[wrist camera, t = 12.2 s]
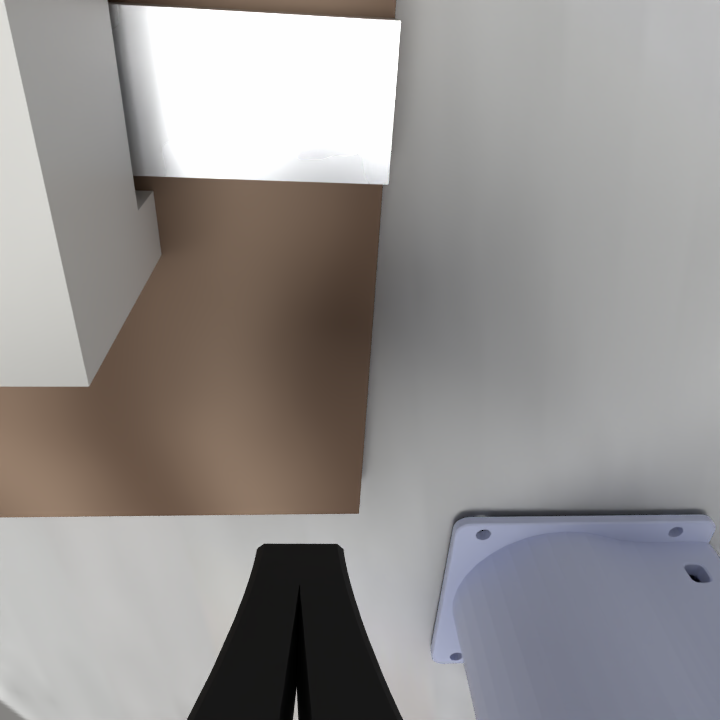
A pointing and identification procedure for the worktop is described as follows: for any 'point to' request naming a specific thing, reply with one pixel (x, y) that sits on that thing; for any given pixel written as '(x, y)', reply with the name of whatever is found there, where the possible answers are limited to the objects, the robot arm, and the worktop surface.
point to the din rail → (256, 93)
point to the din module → (65, 195)
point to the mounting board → (220, 356)
